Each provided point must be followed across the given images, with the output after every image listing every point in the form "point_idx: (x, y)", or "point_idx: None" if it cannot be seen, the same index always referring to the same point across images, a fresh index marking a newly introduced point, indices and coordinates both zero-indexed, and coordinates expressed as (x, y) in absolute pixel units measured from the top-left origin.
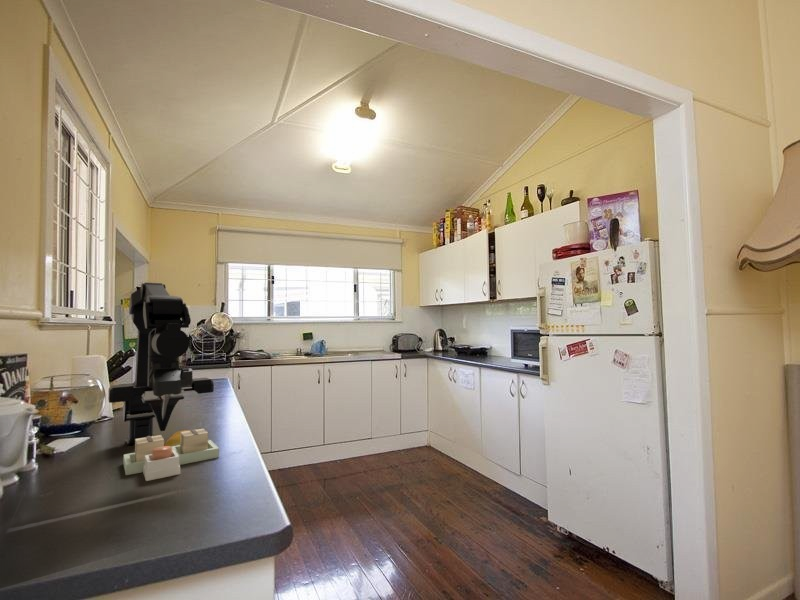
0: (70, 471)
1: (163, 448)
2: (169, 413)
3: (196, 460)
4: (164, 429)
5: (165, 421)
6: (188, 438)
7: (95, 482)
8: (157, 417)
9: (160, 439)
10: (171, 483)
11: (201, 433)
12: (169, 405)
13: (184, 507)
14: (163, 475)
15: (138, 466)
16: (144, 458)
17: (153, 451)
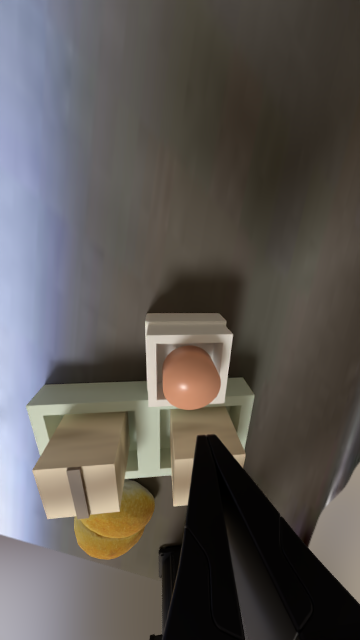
0: (302, 460)
1: (188, 384)
2: (196, 543)
3: (98, 387)
4: (200, 437)
5: (207, 477)
6: (102, 456)
7: (288, 382)
8: (268, 509)
9: (183, 465)
10: (172, 273)
11: (56, 471)
12: None
13: (173, 13)
14: (185, 316)
15: (226, 390)
16: (213, 417)
17: (218, 373)
